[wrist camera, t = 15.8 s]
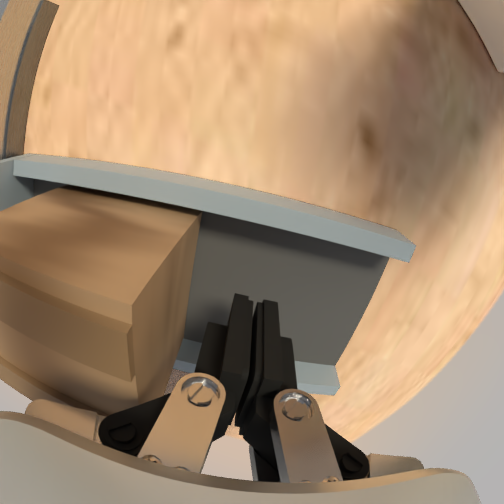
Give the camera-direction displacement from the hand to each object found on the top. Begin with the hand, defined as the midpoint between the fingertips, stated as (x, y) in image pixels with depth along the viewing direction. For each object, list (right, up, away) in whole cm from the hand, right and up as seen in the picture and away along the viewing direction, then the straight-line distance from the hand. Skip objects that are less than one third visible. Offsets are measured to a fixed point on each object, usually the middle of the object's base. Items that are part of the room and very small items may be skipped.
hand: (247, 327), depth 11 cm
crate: (-6, +3, +2) cm, 7 cm away
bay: (-3, +2, +3) cm, 5 cm away
